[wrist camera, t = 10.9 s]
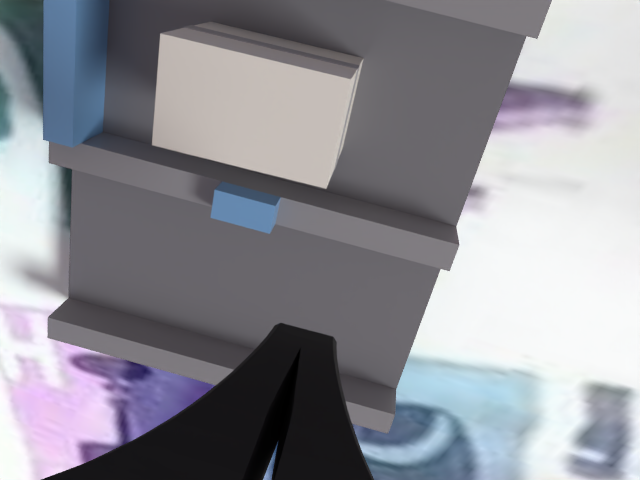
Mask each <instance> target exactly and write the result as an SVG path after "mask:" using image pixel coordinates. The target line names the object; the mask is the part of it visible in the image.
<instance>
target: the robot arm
mask: <svg viewBox="0 0 640 480" xmlns="http://www.w3.org/2000/svg"><path fill="white" fill-rule="evenodd" d="M277 442H278V446H277V452H276V457H275V463H274V469H273V474H272V480H374V479H373V476H372V474H371V472H370V470H369V468H368V465H367V463H366V461H365V458H364V456H363V453H362V451H361V448H360V446H359V443H358V440H357V437H356V434H355V431H354V428H353V425H352V422H351V419H350V416H349V412H348V409H347V405H346V401H345V397H344V393H343V389H342V385H341V380H340V374H339V368H338V361H337V342H336V340H335V338H334V337H333V336H329V335H326V334H322V333H318V332H314V331H310V330H307V329H303V328H299V327H295V326H291V325H288V324H284V323H279V324H277V325H275V326H274V327H273V329H272V330H271V331H270V333H269V334H268V335H267V336H266V338H265V339H264V340H263V341H262V342H261V343H260V344H259V346H258V347H257V348H256V349H255V350H254V351H253V352H252V353H251V354H250V355H249V356H248V357H247V358H246V359H245V360H244V361H243V362H242V363H241V364H240V365H239V366H237V367H236V368H235V369H234V370H233V371H232V372H231V373H230V374H229V375H228V376H226V377H225V378H224V379H223V380H222V381H220V382H219V383H218V384H217V385H216V386H214V387H213V388H212V389H211V390H210V391H208V392H207V393H206V394H205V395H203V396H202V397H201V398H199V399H198V400H197V401H195V402H194V403H193V404H191V405H190V406H188V407H187V408H185V409H184V410H182V411H181V412H179V413H178V414H177V415H175V416H174V417H172V418H170V419H169V420H167V421H165V422H164V423H162V424H160V425H159V426H157V427H155V428H154V429H152V430H150V431H149V432H147V433H145V434H144V435H142V436H140V437H138V438H136V439H134V440H133V441H131V442H129V443H127V444H124V445H122V446H120V447H118V448H116V449H114V450H112V451H110V452H108V453H106V454H104V455H102V456H99V457H97V458H95V459H93V460H91V461H89V462H86V463H84V464H82V465H79V466H77V467H74V468H71V469H69V470H66V471H63V472H61V473H58V474H55V475H52V476H50V477H47V478H44V479H42V480H263V478H264V475H265V473H266V470H267V468H268V465H269V463H270V460H271V458H272V455H273V453H274V450H275V447H276V445H277Z"/></svg>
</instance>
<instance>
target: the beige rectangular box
mask: <svg viewBox="0 0 640 480" xmlns="http://www.w3.org/2000/svg"><path fill="white" fill-rule="evenodd" d="M363 59H364V58H361V57H357V56H352V55H348V54H344V53H340V52H336V51H332V50H327V49H323V48H319V47H315V46H311V45H306V44H302V43H298V42H294V41H290V40H286V39H281V38H277V37H273V36H269V35H265V34H261V33H256V32H252V31H248V30H244V29H240V28H235V27H231V26H227V25H223V24H219V23H215V22H206V23H202V24H198V25H194V26H193V25H189V26H185V27H184V28H181V29H177V30H173V31H168V32H164V33H160V44H159V58H158V71H157V84H156V97H155V111H154V124H153V137H152V145H153V146H157V147H161V148H165V149H169V150H173V151H177V152H181V153H185V154H189V155H193V156H197V157H201V158H205V159H209V160H213V161H217V162H221V163H225V164H229V165H233V166H237V167H241V168H245V169H249V170H253V171H257V172H261V173H265V174H269V175H273V176H277V177H281V178H285V179H289V180H293V181H297V182H301V183H305V184H309V185H313V186H317V187H321V188H325V189H326V188H327V186H328V183H329V181H330V178H331V176H332V173H333V171H334V170H335V168H336V165H337V162H338V159H339V156H340V154H341V151H342V149H343V144H344V140H345V136H346V131H347V127H348V123H349V119H350V114H351V110H352V106H353V101H354V97H355V93H356V89H357V84H358V80H359V76H360V71H361V67H362V63H363Z"/></svg>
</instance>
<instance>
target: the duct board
mask: <svg viewBox="0 0 640 480" xmlns="http://www.w3.org/2000/svg"><path fill="white" fill-rule="evenodd" d="M551 1H552V0H44V32H43V140H46V141H49V163H51V164H55V165H58V166H62V167H66V168H69V169H72V192H71V229H70V266H69V298H68V299H67V300H66V301H65V302H64V303H63V304H62V305H61V306H60V307H58V308H57V309H56V310H55V311H54V312H53V313H52V314H51V315H50V316H49V317H48V338H50V339H54V340H57V341H61V342H64V343H68V344H71V345H75V346H79V347H82V348H86V349H89V350H93V351H96V352H100V353H103V354H107V355H110V356H114V357H118V358H121V359H125V360H128V361H132V362H135V363H139V364H142V365H146V366H150V367H153V368H157V369H160V370H164V371H167V372H171V373H174V374H178V375H181V376H185V377H189V378H192V379H196V380H199V381H203V382H206V383H210V384H213V385H217V384H218V383H219V382H220V381H222V380H223V379H224V378H225V377H226V376H228V375H229V374H230V373H231V372H232V371H233V370H234V369H235V368H236V367H237V366H239V365H240V364H241V363H242V362H243V361H244V360H245V359H246V358H247V357H248V356H249V355H250V354H251V353H252V352H253V351H254V350H255V349H256V348H257V347H258V346H259V344H260V343H261V342H262V341H263V340H264V339H265V338H266V336H267V335H268V334H269V333H270V331H271V330H272V329H273V327H274V326H275V325H277V324H279V323H284V324H288V325H291V326H295V327H299V328H303V329H307V330H310V331H314V332H318V333H322V334H326V335H329V336H333V337H334V338H335V340H336V342H337V361H338V368H339V374H340V380H341V385H342V389H343V393H344V397H345V401H346V405H347V409H348V412H349V416H350V419H351V422H352V424H355V425H359V426H363V427H366V428H370V429H373V430H377V431H380V432H384V433H387V434H388V432H389V429H390V427H391V424H392V422H393V419H394V416H395V403H396V388H397V385H398V383H399V380H400V377H401V374H402V372H403V369H404V366H405V364H406V361H407V358H408V355H409V353H410V350H411V347H412V345H413V342H414V339H415V337H416V334H417V331H418V328H419V326H420V323H421V320H422V318H423V315H424V312H425V309H426V307H427V304H428V301H429V299H430V296H431V293H432V290H433V288H434V285H435V282H436V280H437V277H438V274H439V272H440V269H443V270H447V271H450V268H451V266H452V263H453V260H454V258H455V255H456V252H457V250H458V247H459V240H458V235H457V229H456V226H457V223H458V220H459V217H460V215H461V212H462V209H463V207H464V204H465V201H466V198H467V196H468V193H469V190H470V188H471V185H472V182H473V179H474V177H475V174H476V171H477V169H478V166H479V163H480V161H481V158H482V155H483V152H484V150H485V147H486V144H487V142H488V139H489V136H490V133H491V131H492V128H493V125H494V123H495V120H496V117H497V115H498V112H499V109H500V106H501V104H502V101H503V98H504V96H505V93H506V90H507V87H508V85H509V82H510V79H511V77H512V74H513V71H514V68H515V66H516V63H517V60H518V58H519V55H520V52H521V50H522V47H523V44H524V41H525V39H526V36H528V37H532V38H536V39H537V38H538V36H539V33H540V30H541V28H542V25H543V22H544V20H545V17H546V14H547V12H548V9H549V7H550V4H551ZM206 22H215V23H219V24H223V25H227V26H231V27H235V28H240V29H244V30H248V31H252V32H256V33H261V34H265V35H269V36H273V37H277V38H281V39H286V40H290V41H294V42H298V43H302V44H306V45H311V46H315V47H319V48H323V49H327V50H332V51H336V52H340V53H344V54H348V55H352V56H357V57H361V58H364V59H363V63H362V67H361V71H360V76H359V80H358V84H357V89H356V93H355V97H354V101H353V106H352V110H351V114H350V119H349V123H348V127H347V131H346V136H345V140H344V144H343V149H342V151H341V154H340V156H339V159H338V162H337V165H336V168H335V170H334V171H333V173H332V176H331V178H330V181H329V183H328V186H327V188H326V189H325V188H321V187H317V186H313V185H309V184H305V183H301V182H297V181H293V180H289V179H285V178H281V177H277V176H273V175H269V174H265V173H261V172H257V171H253V170H249V169H245V168H241V167H237V166H233V165H229V164H225V163H221V162H217V161H213V160H209V159H205V158H201V157H197V156H193V155H189V154H185V153H181V152H177V151H173V150H169V149H165V148H161V147H157V146H153V145H152V137H153V124H154V111H155V97H156V84H157V71H158V58H159V44H160V33H164V32H168V31H173V30H177V29H181V28H184V27H185V26H189V25H193V26H194V25H198V24H202V23H206Z"/></svg>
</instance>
